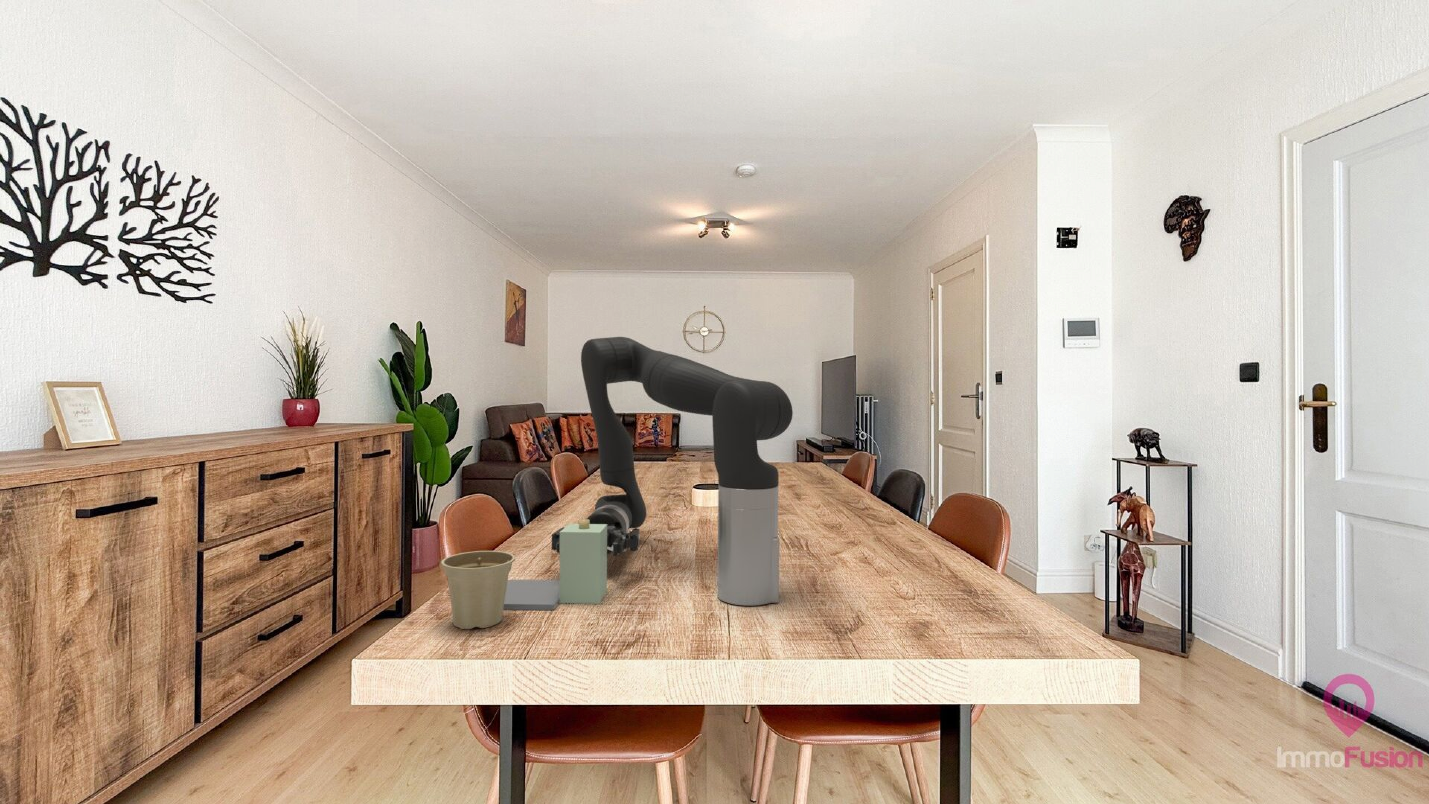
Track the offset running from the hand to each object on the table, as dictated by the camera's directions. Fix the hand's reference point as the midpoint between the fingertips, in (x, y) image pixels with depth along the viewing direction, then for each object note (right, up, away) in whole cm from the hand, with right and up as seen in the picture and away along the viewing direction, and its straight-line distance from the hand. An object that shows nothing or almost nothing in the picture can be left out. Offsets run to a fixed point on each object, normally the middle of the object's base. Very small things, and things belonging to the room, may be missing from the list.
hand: (588, 549), depth 103 cm
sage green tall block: (0, -7, -3) cm, 7 cm away
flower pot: (-12, -7, -14) cm, 20 cm away
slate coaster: (-9, -6, -3) cm, 12 cm away
